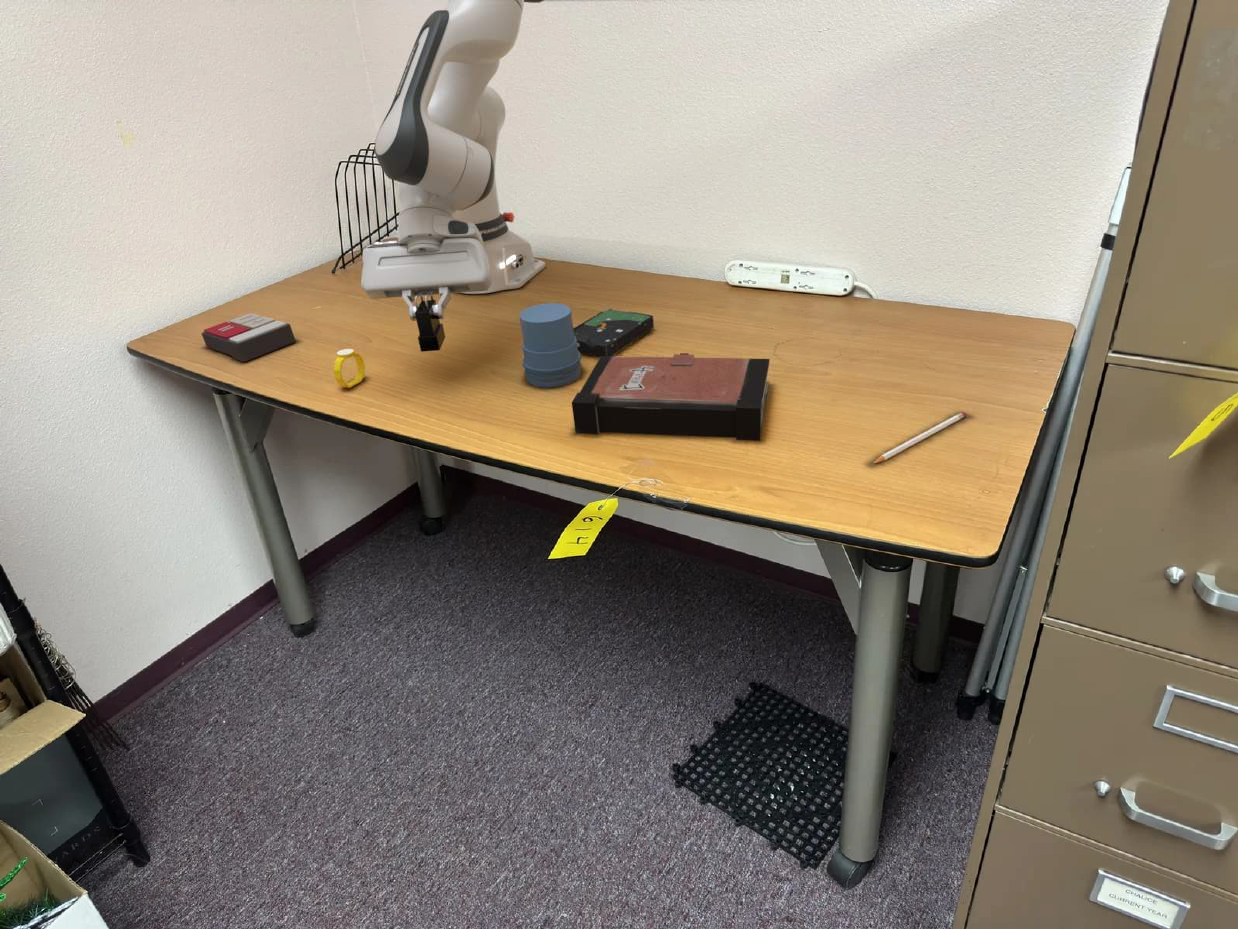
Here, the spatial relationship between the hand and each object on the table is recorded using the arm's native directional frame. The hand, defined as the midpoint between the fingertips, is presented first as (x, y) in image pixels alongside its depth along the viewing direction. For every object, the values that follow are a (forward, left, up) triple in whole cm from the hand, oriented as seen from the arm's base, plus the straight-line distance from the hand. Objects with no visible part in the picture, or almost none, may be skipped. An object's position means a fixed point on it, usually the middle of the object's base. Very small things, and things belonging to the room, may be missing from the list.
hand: (427, 318), depth 128 cm
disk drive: (-27, +16, -12) cm, 33 cm away
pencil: (-11, +73, -12) cm, 75 cm away
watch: (+4, -16, -12) cm, 21 cm away
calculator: (-2, -50, -12) cm, 52 cm away
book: (-8, +39, -12) cm, 42 cm away
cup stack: (-11, +15, -12) cm, 22 cm away
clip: (-1, 0, -5) cm, 5 cm away
